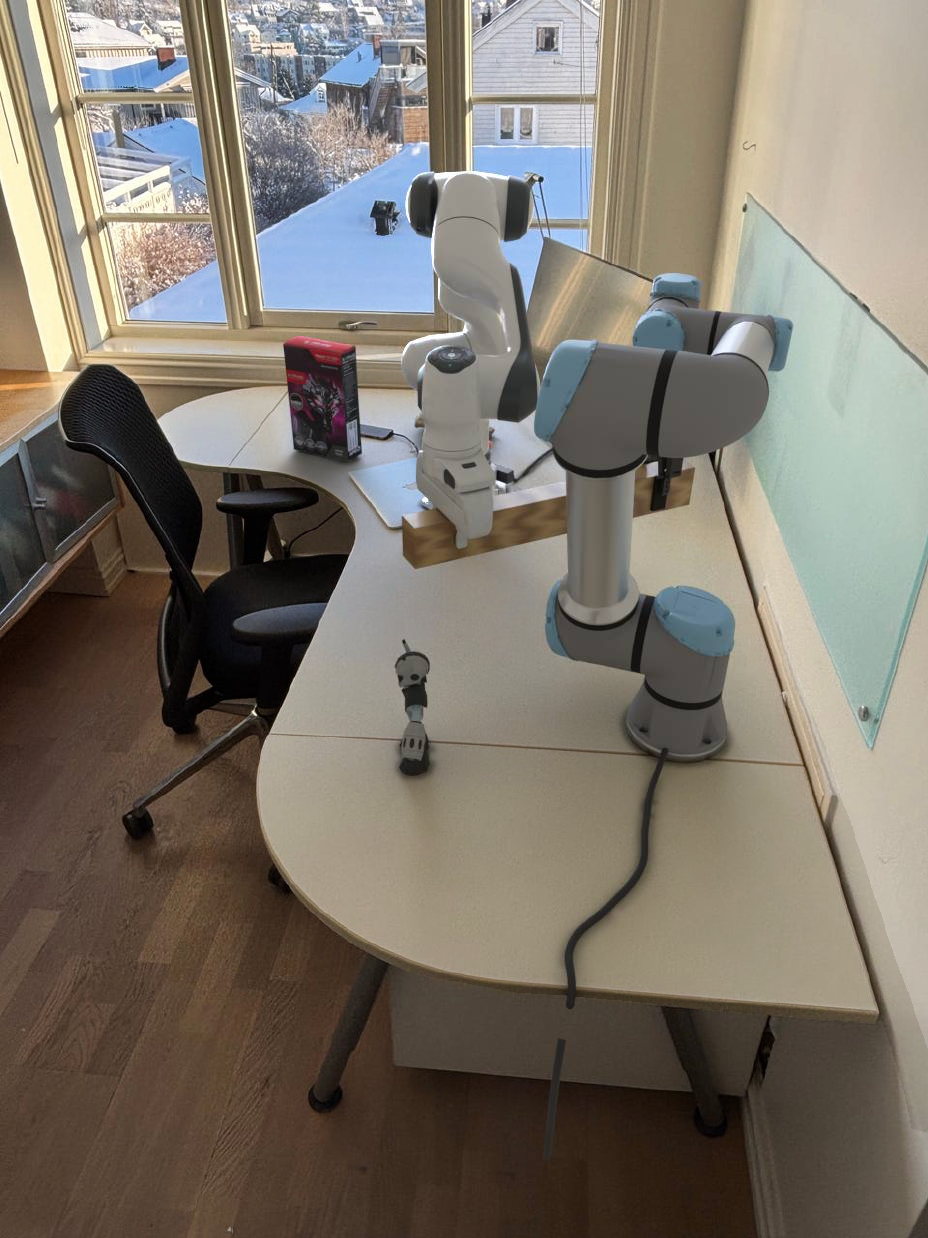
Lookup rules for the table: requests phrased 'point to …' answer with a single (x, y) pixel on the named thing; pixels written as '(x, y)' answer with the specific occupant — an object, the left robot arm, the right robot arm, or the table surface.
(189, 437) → the table surface
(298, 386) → the graphics card box
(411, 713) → the robot
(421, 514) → the post
